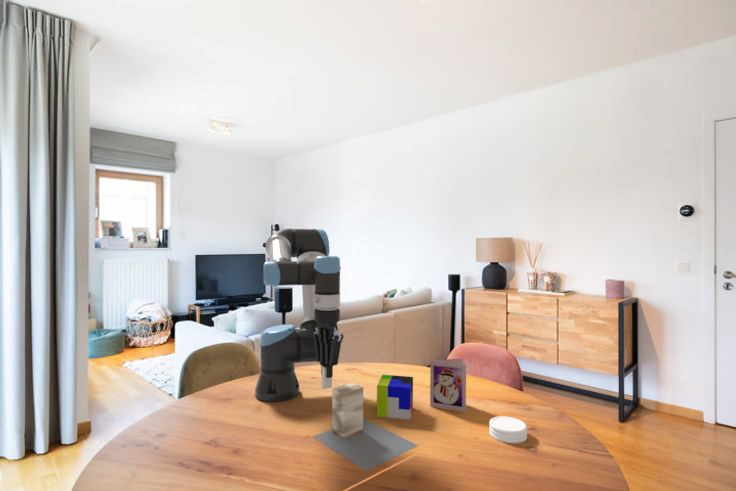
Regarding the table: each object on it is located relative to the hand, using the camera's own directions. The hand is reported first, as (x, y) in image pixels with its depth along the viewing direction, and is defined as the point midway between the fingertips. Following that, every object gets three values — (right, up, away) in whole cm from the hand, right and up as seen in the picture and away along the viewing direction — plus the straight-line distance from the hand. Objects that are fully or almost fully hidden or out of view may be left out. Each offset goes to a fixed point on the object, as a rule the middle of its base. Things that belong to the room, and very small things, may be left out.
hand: (326, 387), depth 121 cm
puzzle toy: (+21, -11, +7) cm, 24 cm away
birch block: (+7, -10, -7) cm, 14 cm away
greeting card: (+39, -11, +12) cm, 42 cm away
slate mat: (+11, -10, -12) cm, 20 cm away
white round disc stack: (+51, -11, -8) cm, 53 cm away
